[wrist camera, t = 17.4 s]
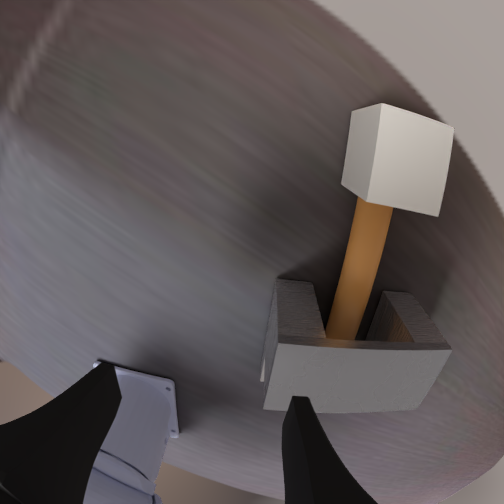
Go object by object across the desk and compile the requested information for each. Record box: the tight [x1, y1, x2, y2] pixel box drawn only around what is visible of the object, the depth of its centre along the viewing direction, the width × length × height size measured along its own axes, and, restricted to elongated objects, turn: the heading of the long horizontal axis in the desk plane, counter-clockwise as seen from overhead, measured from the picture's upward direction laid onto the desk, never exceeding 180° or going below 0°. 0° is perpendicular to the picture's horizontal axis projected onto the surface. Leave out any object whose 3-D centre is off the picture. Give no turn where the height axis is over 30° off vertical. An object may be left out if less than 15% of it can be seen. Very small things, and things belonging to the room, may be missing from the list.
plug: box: [325, 103, 454, 340], centre depth 17 cm, size 20×4×5 cm, turn 173°
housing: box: [260, 278, 452, 413], centre depth 18 cm, size 8×10×7 cm
